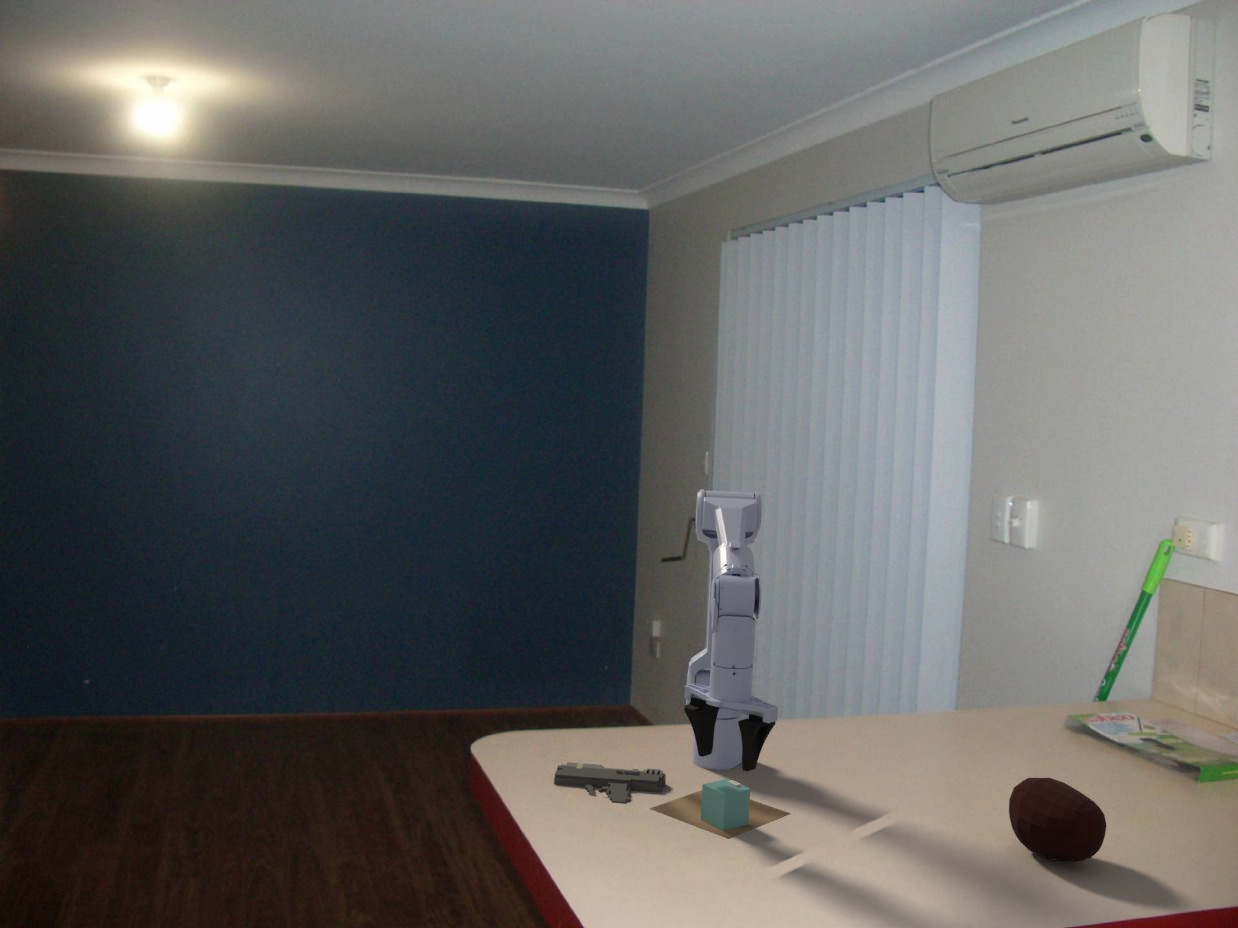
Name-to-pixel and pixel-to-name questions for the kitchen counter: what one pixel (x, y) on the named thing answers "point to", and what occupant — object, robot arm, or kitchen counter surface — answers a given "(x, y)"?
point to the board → (691, 814)
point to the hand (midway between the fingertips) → (726, 761)
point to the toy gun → (610, 779)
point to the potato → (1056, 820)
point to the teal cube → (725, 804)
